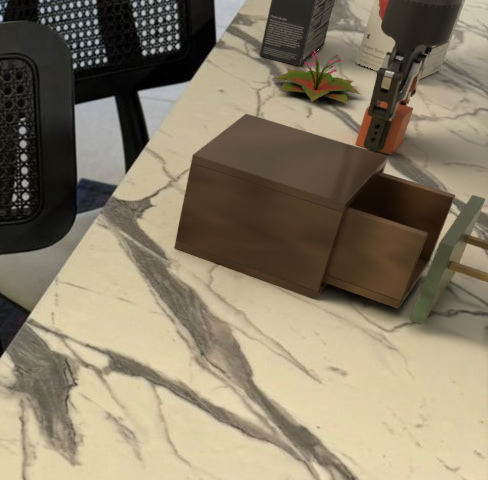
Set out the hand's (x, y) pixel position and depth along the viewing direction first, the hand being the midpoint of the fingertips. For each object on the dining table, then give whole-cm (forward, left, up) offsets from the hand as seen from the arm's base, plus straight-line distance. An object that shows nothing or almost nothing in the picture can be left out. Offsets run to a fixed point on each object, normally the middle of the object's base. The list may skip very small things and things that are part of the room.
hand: (379, 141), depth 122 cm
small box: (+20, -23, 0) cm, 30 cm away
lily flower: (+12, -11, 0) cm, 16 cm away
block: (0, 0, 0) cm, 0 cm away
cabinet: (+1, +33, 0) cm, 33 cm away
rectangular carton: (+6, -28, 0) cm, 29 cm away
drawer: (-12, +33, +1) cm, 35 cm away
